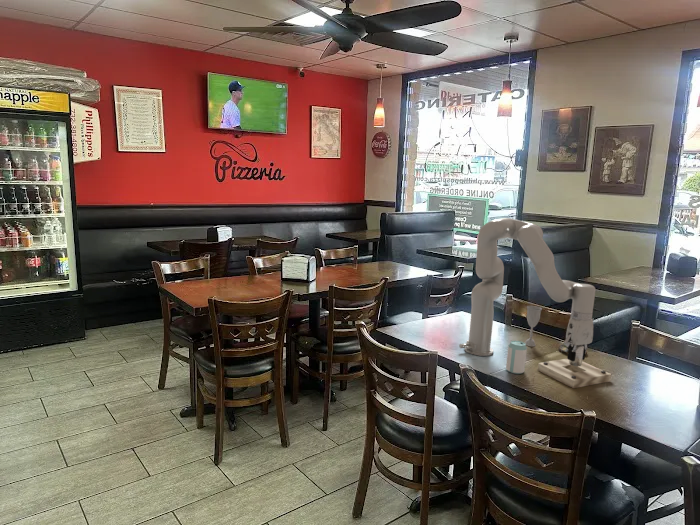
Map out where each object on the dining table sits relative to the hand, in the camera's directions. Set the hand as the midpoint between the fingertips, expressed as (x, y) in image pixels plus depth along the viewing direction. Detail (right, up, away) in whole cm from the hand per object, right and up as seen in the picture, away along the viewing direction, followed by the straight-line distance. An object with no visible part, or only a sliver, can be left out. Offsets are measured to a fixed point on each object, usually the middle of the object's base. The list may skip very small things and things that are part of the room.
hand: (575, 359), depth 193 cm
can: (-23, -6, +3) cm, 24 cm away
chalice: (-5, -1, +36) cm, 36 cm away
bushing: (0, -2, 0) cm, 2 cm away
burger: (+12, -3, +28) cm, 31 cm away
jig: (-1, -7, +1) cm, 7 cm away
